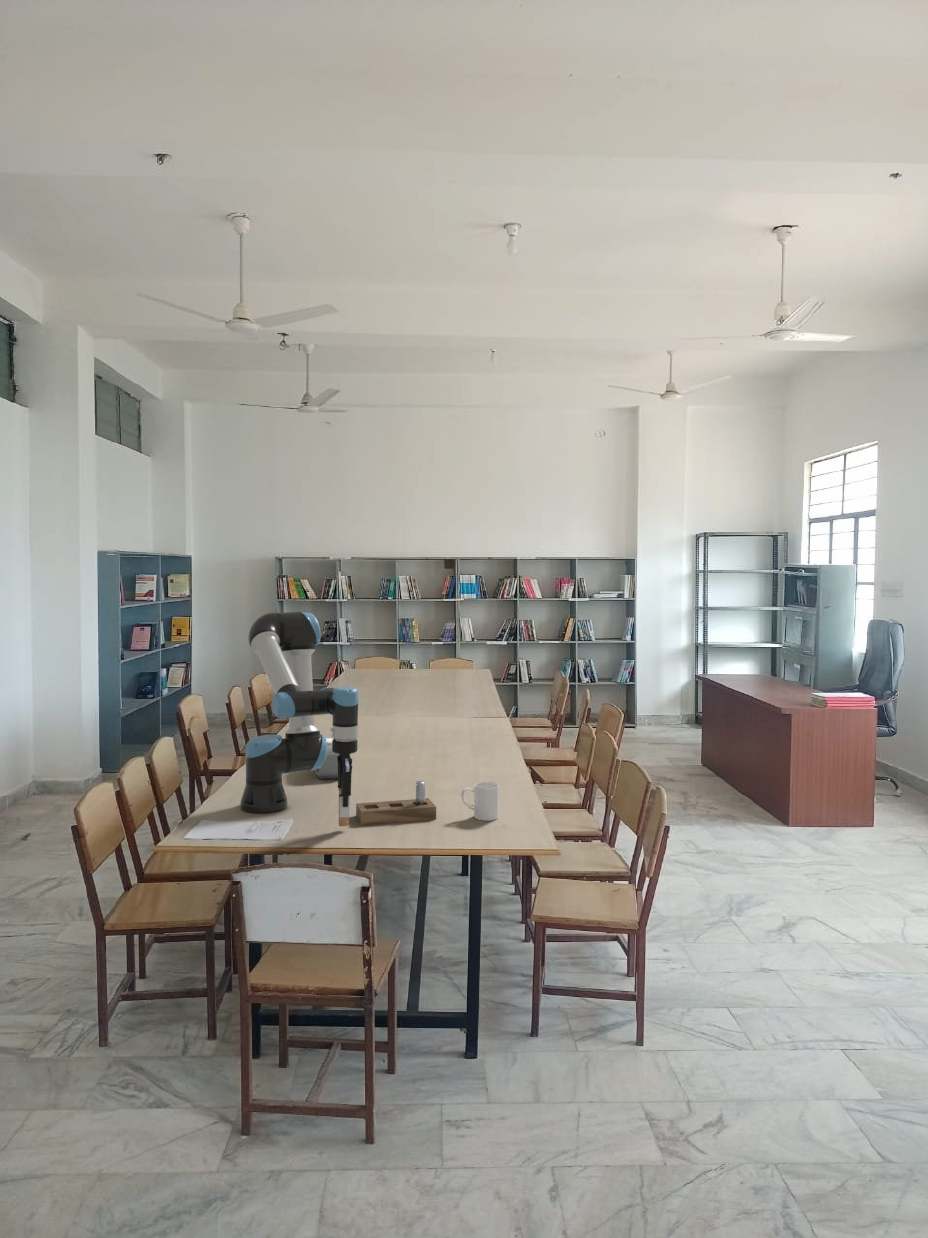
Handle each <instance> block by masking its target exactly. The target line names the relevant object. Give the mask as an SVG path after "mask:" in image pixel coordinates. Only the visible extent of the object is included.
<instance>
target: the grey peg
mask: <svg viewBox="0 0 928 1238" xmlns="http://www.w3.org/2000/svg"><path fill="white" fill-rule="evenodd" d="M415 799H416V806H417V805H425V799H426V781H424V780H416V781H415Z"/></svg>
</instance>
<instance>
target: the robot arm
mask: <svg viewBox="0 0 928 1238" xmlns="http://www.w3.org/2000/svg"><path fill="white" fill-rule="evenodd" d="M320 627H321V626H320V624H319V621H318V619H317V618H316V615H314V614H313V613H311V612H303V611H296V612H293V611H292V612H291V611H290V612H268V613H264V614H263V615H261V616H259V617H257V619H255V621H253V623H252V624H251V626H250V628H249V632H248V645H249V646H250V648H251V651H252V653H254V654H255V655H257V656H258V659H259V661H260V663H261V666H262V668H263V670H264V672H265V674H266V676H267V678H268V681H269V684H270V685H271V688H272V690H273V692H274V695H273V696H272V700H271V706H272V712H273V715H274V716H275V717H276V718H288V722H289V725H288V726H289V727H288V729H287V730H286V731H285V732H284V734H285V738H283V737H282V735H280V734H276V733H275V734H264V735H259V736H255V737H253V738H251V739H249V740H248V741H247V743H246V745H245V746H246V747H245V754H244V756H245V786H244V789H243V793H242V795H241V799H240V805H239V808H240V810H242V812H246V813H251V814H252V813H253V814H255V813H256V814H267V813H274V812H279V811H282V810H285V809H286V808H288V797H287V794H286V790H285V788H284V785H283V774H291V773H299V772H301V773H302V772H312V771H314V770H315V769H319V768H321V767H322V766H323V764H324V762H325V760H326V756H327V742H326V738H327V737H326V736H325V735H323V734H321V731H320V729H319V728H318V727H317V725H316V722H315V721H316V720H315V717H316V716H320V715H332V727H331V728H330V732H332V739H333V740H332V751H333V752H334V753H337V754H339V756H338V757H337V762H338V778H337V789H338V792H339V789H340V788H341V794H339V793H338V798H339V797H340V817H350V803H351V802H350V797H351V795H352V772H353V758H351V754H355V753H356V752H357V751H358V739H357V738H359V735H358V734H359V732H358V731H359V725H358V724H359V723H358V722H359V721H358V720H359V716H358V715H359V690H358V689H357V688H356V687H352V686H337V687H335V688H334V687H327V686H326V687H323V688H321V689H319V690H317V689H315V690H314V685H313V669H312V668H313V666H312V655H313V653H314V652H315V651H316V647H317V646H318V645H319V644H320V642H321V637H322V636H321V635H322V633H321V628H320Z"/></svg>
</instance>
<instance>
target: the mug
mask: <svg viewBox="0 0 928 1238" xmlns="http://www.w3.org/2000/svg"><path fill="white" fill-rule="evenodd" d="M473 787H474V788H470V787H465V788H463V789H462V791H461V795H460V796H461V800H462V802H463V804H464V805H465V806H466V807H467V808H468V809H470V810H472V811H473V817H474V818H475V820H479V821H484V822H488V821H489V822H490V821H495V820H498V818H499V817H500V815H499V814H500V813H499V810H500V809H499V808H500V807H499V806H500V805H499V804H500V802H499V801H500V785H499V784H498V783H496V782H487V781H485V782H483V781H482V782H476V783H475V784H474V786H473ZM466 791H471V792H473V793H474V797H473V807H472V806H470V804H468V803H467V802H466V800H465V797H464V794H465V792H466Z"/></svg>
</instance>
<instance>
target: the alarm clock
mask: <svg viewBox="0 0 928 1238" xmlns="http://www.w3.org/2000/svg"><path fill="white" fill-rule="evenodd" d="M325 738H326V742H327V756H326V760H325V762H324V764H323V766H322V767H321V768H319V769H315V770H313V771H314V772H315V774H316V776H318V778H319V779H320V780H324V779H325V780H327V779H338V762H337V757H338V756H339V754H337V753H334V752H333V751H332V740H333V739H334V738H333V737H332V738H331V737H330V738H327V737H325Z"/></svg>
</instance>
